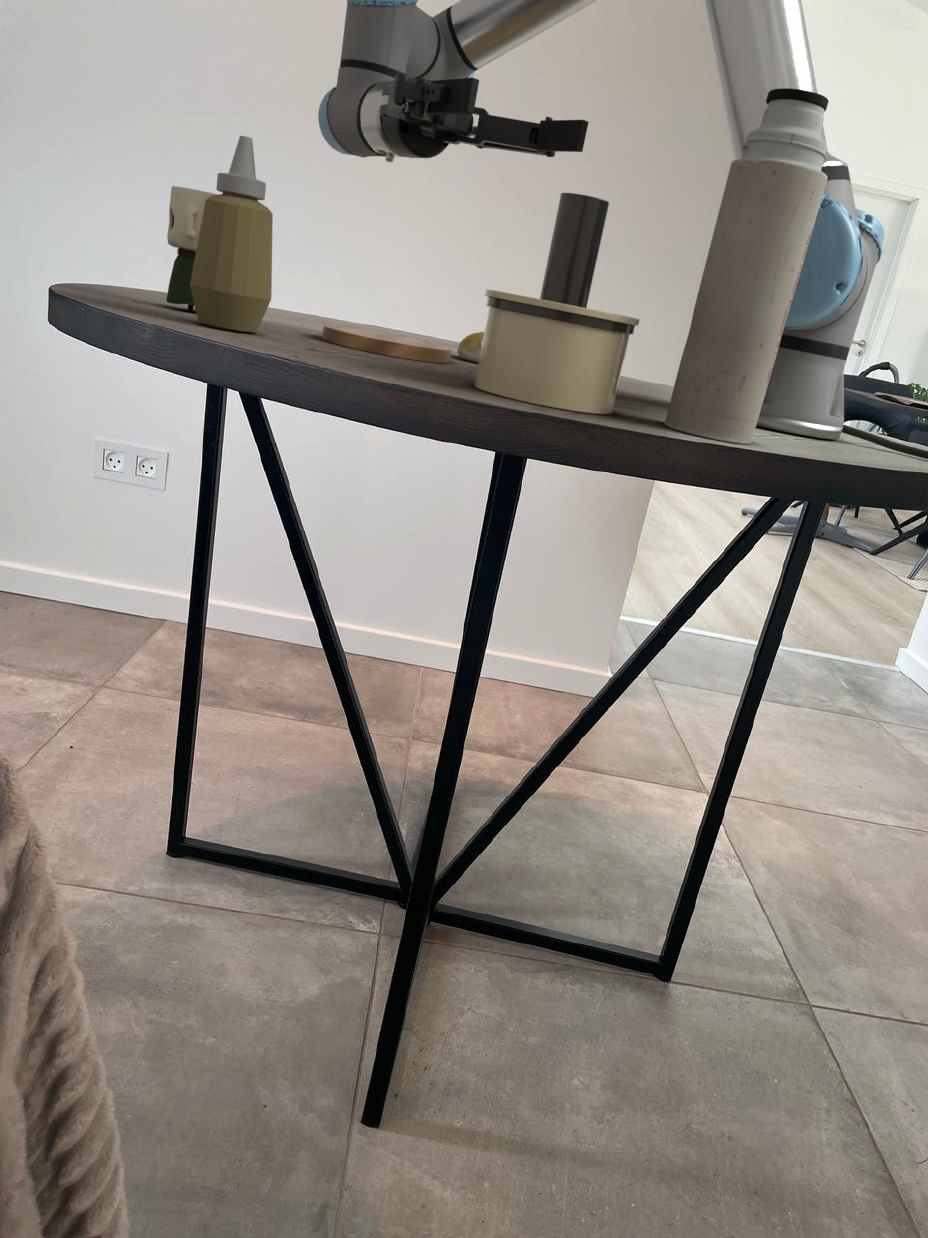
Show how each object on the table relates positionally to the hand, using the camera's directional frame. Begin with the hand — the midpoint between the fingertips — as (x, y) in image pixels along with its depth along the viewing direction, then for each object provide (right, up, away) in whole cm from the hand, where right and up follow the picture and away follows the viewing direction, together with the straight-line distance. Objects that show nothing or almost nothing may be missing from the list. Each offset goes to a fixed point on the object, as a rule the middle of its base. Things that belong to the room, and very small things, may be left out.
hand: (530, 116), depth 87 cm
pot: (+1, -26, +1) cm, 26 cm away
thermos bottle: (+16, -30, -1) cm, 34 cm away
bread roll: (-3, -14, +33) cm, 36 cm away
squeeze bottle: (-31, -17, +9) cm, 36 cm away
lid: (+3, -19, -2) cm, 19 cm away
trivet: (-15, -15, +22) cm, 31 cm away
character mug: (-38, -11, +23) cm, 46 cm away
